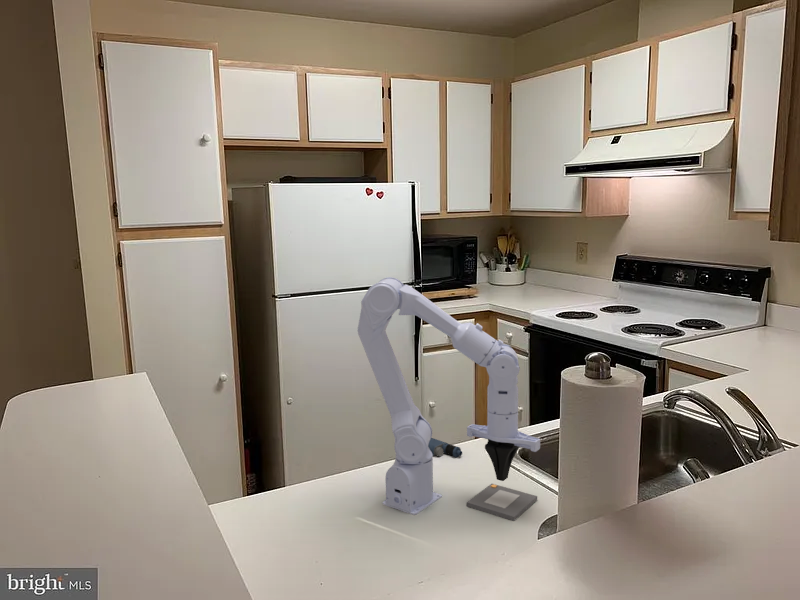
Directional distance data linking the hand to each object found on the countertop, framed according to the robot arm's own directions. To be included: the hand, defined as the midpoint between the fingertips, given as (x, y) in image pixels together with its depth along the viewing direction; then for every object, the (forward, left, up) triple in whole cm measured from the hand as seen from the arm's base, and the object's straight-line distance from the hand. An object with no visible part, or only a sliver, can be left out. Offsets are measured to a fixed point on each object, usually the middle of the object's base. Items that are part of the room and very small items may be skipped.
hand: (502, 478), depth 119 cm
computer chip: (0, 0, -5) cm, 5 cm away
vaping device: (+15, +30, -4) cm, 34 cm away
